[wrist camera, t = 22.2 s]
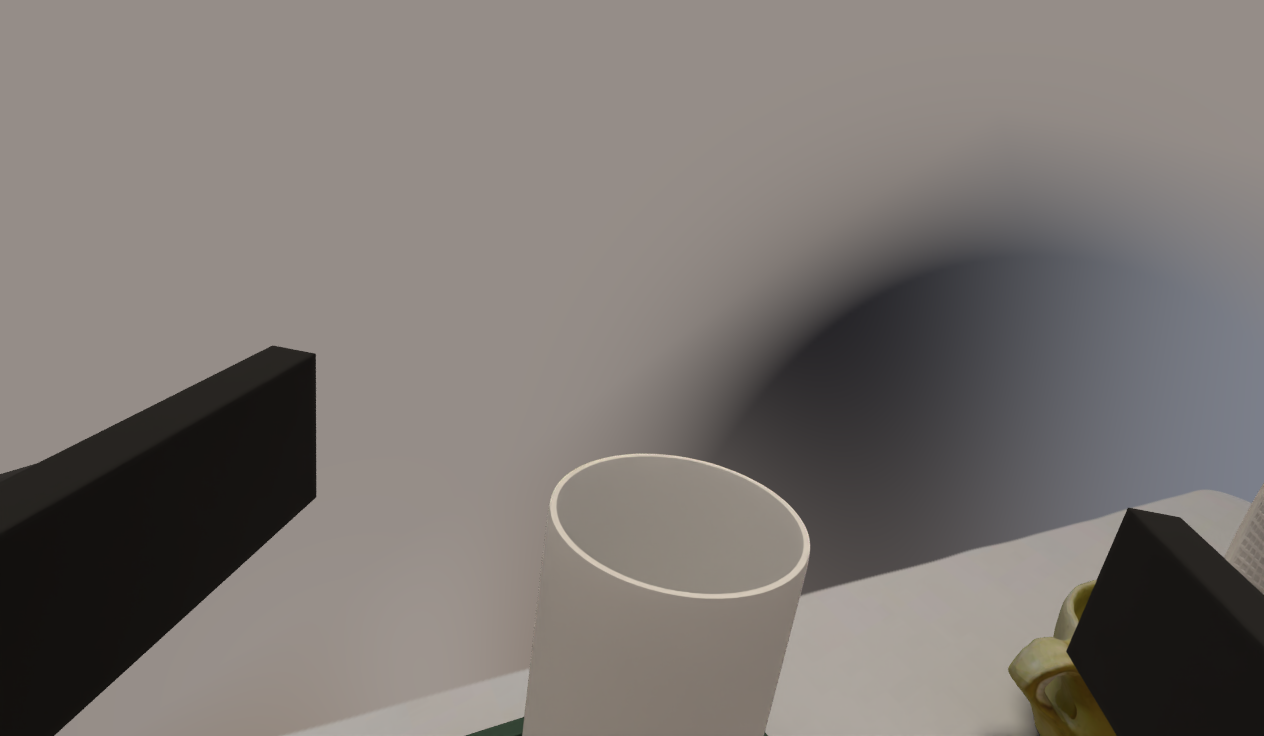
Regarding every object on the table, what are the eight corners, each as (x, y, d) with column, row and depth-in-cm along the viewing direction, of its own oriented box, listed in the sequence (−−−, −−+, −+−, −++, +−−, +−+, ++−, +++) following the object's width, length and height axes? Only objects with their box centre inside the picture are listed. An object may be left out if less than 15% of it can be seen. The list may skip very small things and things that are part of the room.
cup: (760, 941, 27) (869, 574, 21) (544, 1032, 23) (608, 621, 18) (662, 758, 34) (725, 445, 28) (484, 807, 30) (517, 461, 25)
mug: (1163, 656, 44) (1232, 548, 38) (1268, 850, 36) (1378, 753, 30) (949, 653, 45) (983, 548, 39) (1005, 839, 37) (1058, 744, 31)
